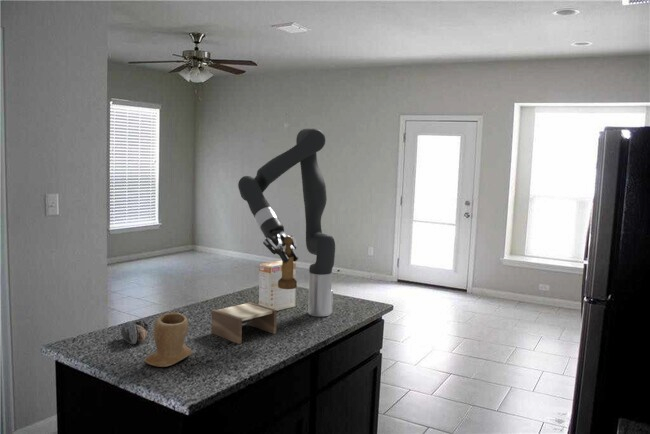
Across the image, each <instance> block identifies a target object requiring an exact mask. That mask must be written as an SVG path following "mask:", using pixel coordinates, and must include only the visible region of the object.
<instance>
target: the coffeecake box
mask: <svg viewBox="0 0 650 434" xmlns="http://www.w3.org/2000/svg"><path fill="white" fill-rule="evenodd" d="M296 263H297V261H295V262H294V261H293V278H294V279H295V280H296V279H297V278H296V275H297V274H296V273H297V272H296V271H297V270H296V269H297V268H296V267H297V265H296ZM258 268H259V269H258V272H259V273H258V305H261V306H265V307H268V308H271V309H275V310H277V311H283V310H286V309H290V308H294V307H296V288H294V289H281V288H279V287H278V280H280V279H281V278H282V260H277V261H270V262H264V263H260V264H259V266H258ZM296 281H297V280H296Z"/></svg>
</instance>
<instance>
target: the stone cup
mask: <svg viewBox="0 0 650 434" xmlns="http://www.w3.org/2000/svg"><path fill="white" fill-rule="evenodd" d="M153 328H154V329H153V338H154V339H153V340H154V341H155V346H156V351H155V352H152V353H151V354H149V355H148V356H146V357H145V359H144V362H145V363H146V364H147V365H151V366H154V367H160V368H165V367H169V366H173V365H175V364H177V363H180V361H182V360H184V359H186V358H187V357H189V356H191V355H192V354H193V351H192V349H191V348H190V346H189V347H188V346H187V345H186V344H185V343H184V342H185V340H186V337H187V334H188V329H189V320H188V318H187V316H186V315H185V314H183V313H180V312H174V311H173V312H167V313H163V314H161V315H160V316H159V317H157V318H156V320H155V322H154V326H153Z"/></svg>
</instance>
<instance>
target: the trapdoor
mask: <svg viewBox="0 0 650 434" xmlns="http://www.w3.org/2000/svg"><path fill="white" fill-rule="evenodd" d="M216 310H217V311H220V312H223V313H226V314H229V315H232V316H235V317H238V318H241V319H242V325H243V324H246V322H250V321H252V318H256V317H260V316H264V315H268V314H272V310H269V309H265V308H262V307H259V306H255V305H252V304H249V303H247V302H246V303H243V304H238V305H233V306H232V305H231V306H228V307H224V308H220V309H216Z"/></svg>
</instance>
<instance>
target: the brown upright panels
mask: <svg viewBox="0 0 650 434" xmlns="http://www.w3.org/2000/svg"><path fill="white" fill-rule="evenodd" d="M246 303H249V304H252V305H255V306H259V307H262V308H265V309H269V310H272V314H268V315H264V316H260V317H256V318H252V321H250V322H246V323H245V325H248V326H250V327H254V328H257V329H259V330H261V331H265V332H268V333H271V334H277V318H278V317H277V316H278V315H277V313H278V312H277V310H275V309H271V308H268V307H265V306H261V305H259V303H254V302H252V301H251V302H250V301H248V302H246ZM217 310H218V309H211V334H212V335H215V336H217V337H220V338H222V339H226V340H228V341H231V342H233V343H235V344H238V345H240V344H242V343H243V340H242V337H243V335H242V333H243V329H242V328H243V324H242V319H241V318H238V317H235V316H232V315H229V314H226V313H223V312H220V311H217Z"/></svg>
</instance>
